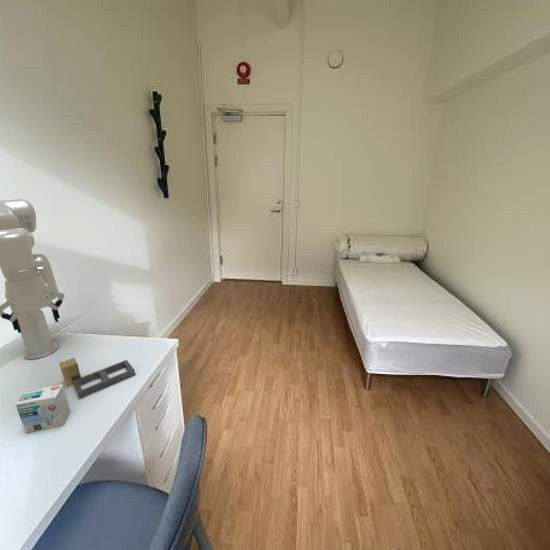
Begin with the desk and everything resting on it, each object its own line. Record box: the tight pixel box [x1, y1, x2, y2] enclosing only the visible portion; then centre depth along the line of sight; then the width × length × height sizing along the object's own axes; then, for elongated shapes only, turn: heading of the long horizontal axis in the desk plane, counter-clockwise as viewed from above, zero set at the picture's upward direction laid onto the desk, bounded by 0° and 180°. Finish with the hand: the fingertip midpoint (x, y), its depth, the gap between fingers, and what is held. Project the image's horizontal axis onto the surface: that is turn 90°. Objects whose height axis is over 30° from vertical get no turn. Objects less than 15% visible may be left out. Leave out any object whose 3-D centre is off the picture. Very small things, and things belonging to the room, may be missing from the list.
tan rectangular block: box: [58, 357, 82, 388], centre depth 119 cm, size 5×5×8 cm
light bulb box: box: [15, 383, 71, 434], centre depth 99 cm, size 11×7×11 cm, turn 105°
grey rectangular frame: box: [72, 359, 136, 400], centre depth 119 cm, size 9×19×2 cm, turn 131°
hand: (38, 325), depth 100 cm, fingers open, 9 cm apart
